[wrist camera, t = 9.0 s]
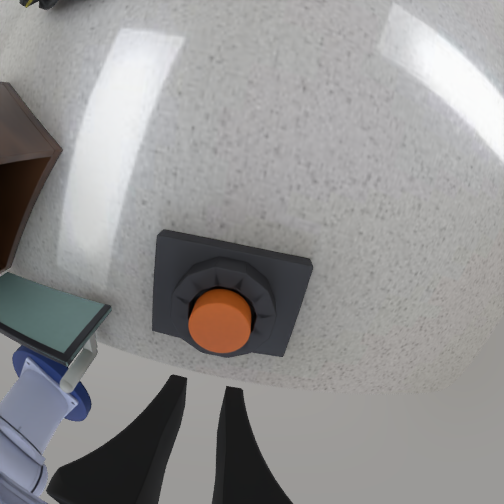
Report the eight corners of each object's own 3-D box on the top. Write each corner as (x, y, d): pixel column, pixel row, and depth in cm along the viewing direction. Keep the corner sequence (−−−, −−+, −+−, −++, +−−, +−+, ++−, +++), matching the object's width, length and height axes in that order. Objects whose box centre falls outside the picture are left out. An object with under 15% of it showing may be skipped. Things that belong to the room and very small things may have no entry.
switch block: (157, 321, 21) (144, 344, 18) (163, 229, 18) (146, 243, 15) (282, 346, 21) (284, 372, 18) (310, 258, 18) (319, 277, 16)
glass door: (117, 354, 21) (84, 410, 14) (17, 315, 20) (-21, 350, 14) (111, 305, 19) (66, 361, 12) (7, 271, 18) (-39, 303, 12)
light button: (191, 330, 18) (185, 346, 16) (197, 282, 16) (191, 296, 15) (245, 341, 18) (244, 358, 16) (256, 294, 17) (256, 310, 15)
